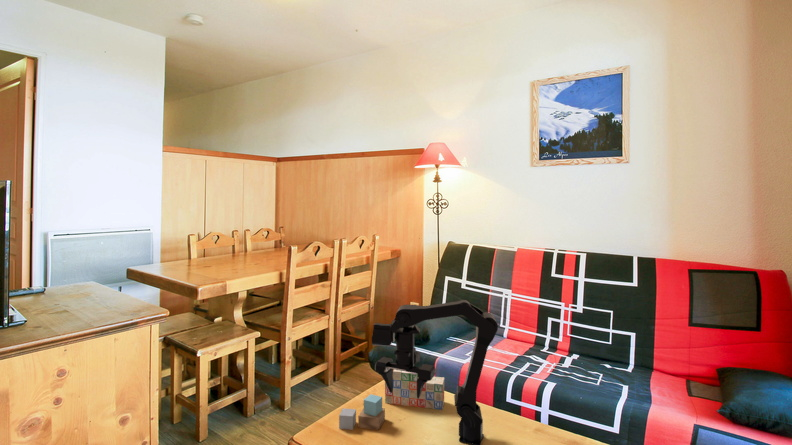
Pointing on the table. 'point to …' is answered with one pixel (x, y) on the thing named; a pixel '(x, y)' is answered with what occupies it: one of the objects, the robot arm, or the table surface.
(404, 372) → the stack of blocks
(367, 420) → the walnut block
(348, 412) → the light grey cube
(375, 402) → the teal cube
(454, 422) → the table surface
